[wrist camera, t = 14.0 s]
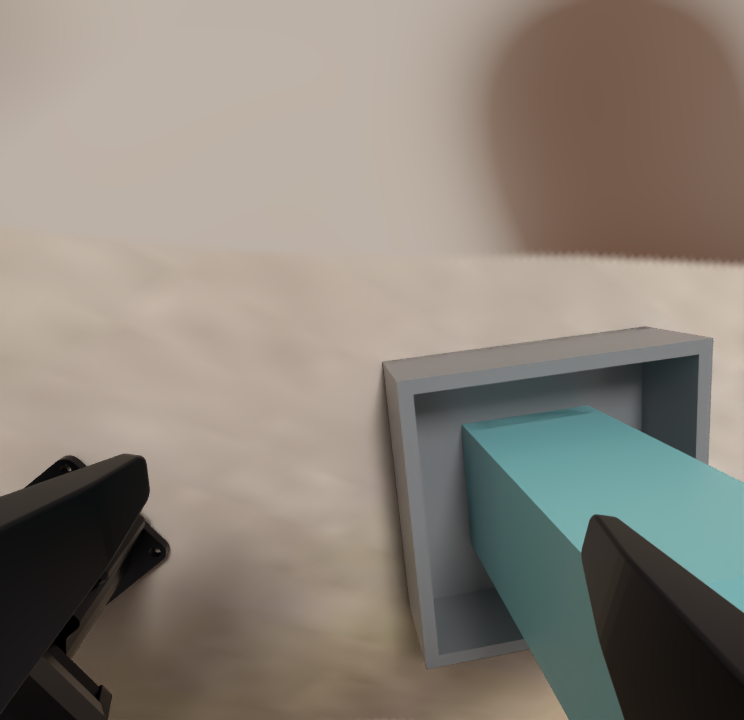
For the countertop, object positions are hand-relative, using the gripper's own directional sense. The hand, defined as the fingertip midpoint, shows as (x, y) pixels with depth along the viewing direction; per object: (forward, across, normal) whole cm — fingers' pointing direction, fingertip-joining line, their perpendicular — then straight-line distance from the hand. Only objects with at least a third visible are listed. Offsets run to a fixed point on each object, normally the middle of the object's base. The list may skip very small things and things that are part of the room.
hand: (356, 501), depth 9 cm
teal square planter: (+13, -7, +7) cm, 16 cm away
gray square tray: (+14, -7, +7) cm, 17 cm away
